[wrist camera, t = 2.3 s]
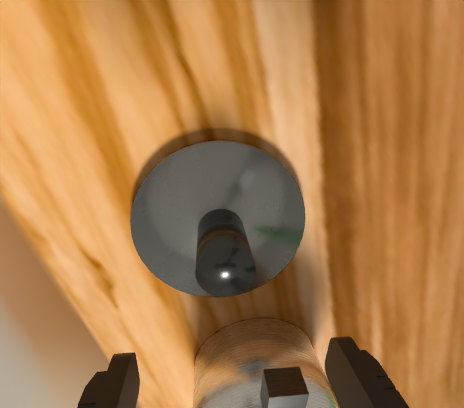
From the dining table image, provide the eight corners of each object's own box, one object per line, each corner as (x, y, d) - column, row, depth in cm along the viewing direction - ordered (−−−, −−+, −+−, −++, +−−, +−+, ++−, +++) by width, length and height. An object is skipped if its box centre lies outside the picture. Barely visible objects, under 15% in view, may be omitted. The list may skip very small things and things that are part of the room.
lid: (123, 137, 17) (81, 157, 12) (311, 140, 19) (360, 160, 13) (143, 291, 23) (122, 359, 17) (289, 284, 24) (317, 346, 18)
